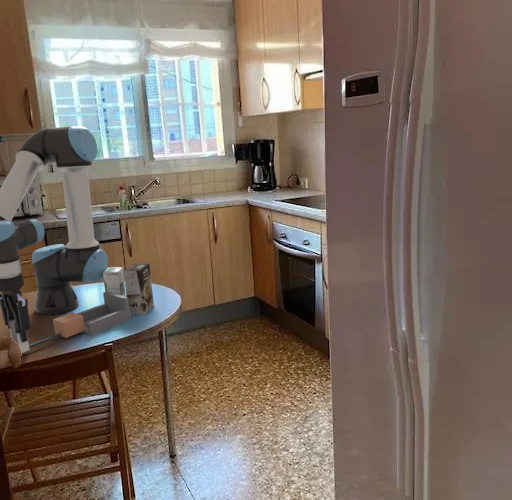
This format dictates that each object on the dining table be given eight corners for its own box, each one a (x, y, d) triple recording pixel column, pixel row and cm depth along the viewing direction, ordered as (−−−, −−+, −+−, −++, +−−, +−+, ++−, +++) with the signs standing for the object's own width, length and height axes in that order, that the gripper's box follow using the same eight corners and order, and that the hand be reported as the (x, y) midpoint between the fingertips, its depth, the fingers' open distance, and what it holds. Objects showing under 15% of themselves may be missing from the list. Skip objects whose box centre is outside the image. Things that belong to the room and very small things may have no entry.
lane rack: (69, 327, 184) (66, 305, 182) (109, 312, 195) (106, 291, 193) (90, 335, 176) (87, 312, 174) (130, 319, 188) (128, 297, 186)
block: (12, 350, 166) (6, 319, 163) (74, 326, 182) (70, 298, 179) (22, 355, 162) (16, 323, 159) (85, 330, 178) (80, 301, 175)
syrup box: (111, 305, 203) (106, 267, 200) (127, 304, 203) (122, 266, 199) (107, 310, 198) (101, 272, 194) (123, 309, 198) (118, 271, 194)
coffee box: (145, 314, 192) (140, 270, 187) (127, 314, 193) (122, 270, 189) (154, 305, 200) (150, 262, 196) (138, 305, 201) (133, 262, 197)
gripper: (-18, 274, 161) (-4, 348, 167) (9, 282, 151) (23, 361, 157) (6, 267, 166) (19, 339, 172) (34, 275, 157) (47, 351, 162)
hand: (21, 349), depth 165 cm, fingers closed on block, 3 cm apart
